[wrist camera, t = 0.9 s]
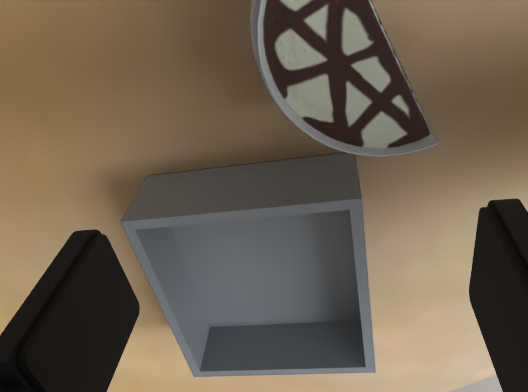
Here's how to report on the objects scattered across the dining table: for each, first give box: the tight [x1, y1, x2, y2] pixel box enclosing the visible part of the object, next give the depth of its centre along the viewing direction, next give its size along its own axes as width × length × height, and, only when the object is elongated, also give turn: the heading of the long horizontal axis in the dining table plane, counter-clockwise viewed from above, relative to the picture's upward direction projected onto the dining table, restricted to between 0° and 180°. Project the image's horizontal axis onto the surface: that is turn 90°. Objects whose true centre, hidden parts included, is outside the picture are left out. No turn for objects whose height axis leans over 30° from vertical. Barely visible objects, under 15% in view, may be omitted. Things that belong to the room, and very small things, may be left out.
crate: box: [121, 153, 376, 377], centre depth 37 cm, size 17×19×6 cm
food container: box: [250, 0, 438, 157], centre depth 23 cm, size 12×6×10 cm, turn 32°
